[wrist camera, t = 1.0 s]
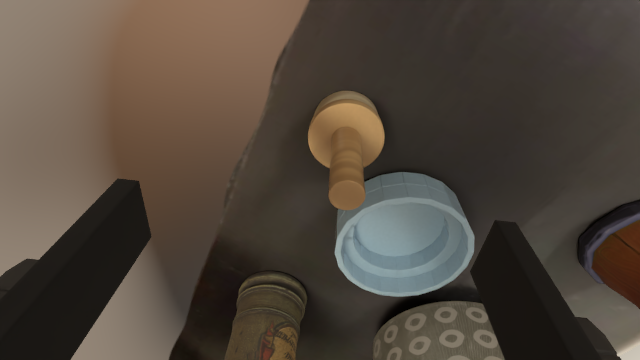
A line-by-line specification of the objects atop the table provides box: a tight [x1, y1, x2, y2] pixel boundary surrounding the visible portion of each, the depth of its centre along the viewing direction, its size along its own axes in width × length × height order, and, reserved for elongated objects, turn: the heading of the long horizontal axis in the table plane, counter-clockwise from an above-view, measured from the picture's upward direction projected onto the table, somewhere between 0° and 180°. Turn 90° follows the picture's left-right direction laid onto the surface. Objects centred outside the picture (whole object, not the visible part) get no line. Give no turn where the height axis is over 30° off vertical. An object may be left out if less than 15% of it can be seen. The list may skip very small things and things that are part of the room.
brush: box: [308, 91, 385, 210], centre depth 28 cm, size 6×6×12 cm
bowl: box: [335, 172, 474, 297], centre depth 36 cm, size 13×13×5 cm
